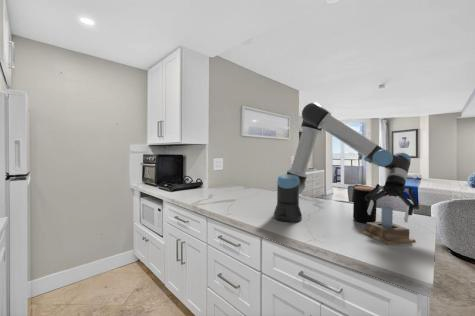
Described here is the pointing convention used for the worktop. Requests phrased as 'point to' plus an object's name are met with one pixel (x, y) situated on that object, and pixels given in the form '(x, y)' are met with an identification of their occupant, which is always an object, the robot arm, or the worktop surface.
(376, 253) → the worktop surface
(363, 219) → the coffee jar
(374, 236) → the socket block
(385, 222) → the dowel
